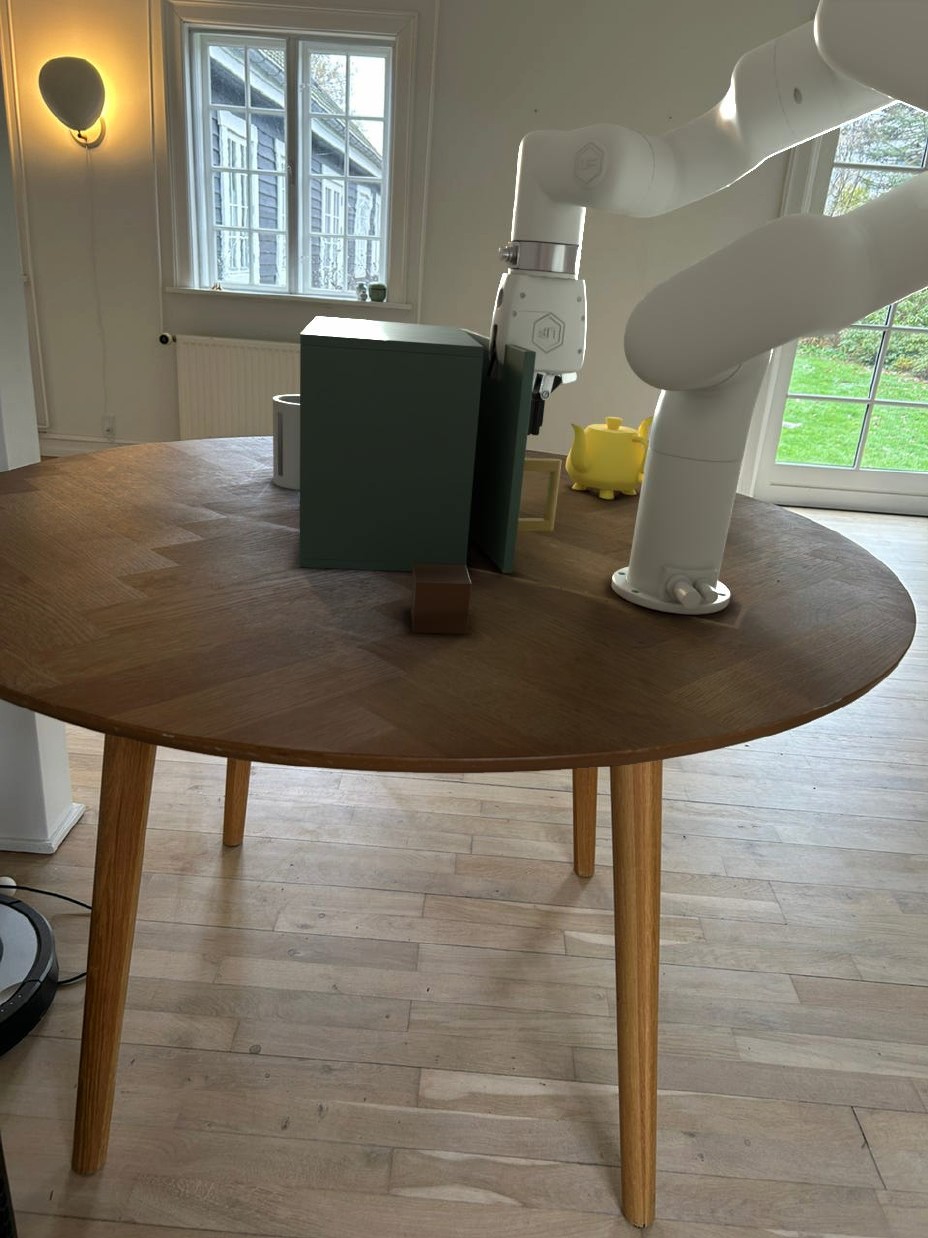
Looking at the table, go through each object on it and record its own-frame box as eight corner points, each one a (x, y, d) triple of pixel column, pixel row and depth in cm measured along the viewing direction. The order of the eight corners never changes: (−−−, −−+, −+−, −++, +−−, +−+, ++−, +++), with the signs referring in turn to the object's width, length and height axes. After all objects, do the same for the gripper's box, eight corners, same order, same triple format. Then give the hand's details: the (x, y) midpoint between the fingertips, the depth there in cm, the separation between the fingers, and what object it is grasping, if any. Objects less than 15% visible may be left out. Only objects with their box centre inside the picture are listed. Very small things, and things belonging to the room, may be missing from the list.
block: (467, 634, 79) (471, 583, 77) (413, 632, 78) (415, 581, 76) (461, 613, 83) (465, 565, 81) (410, 611, 82) (413, 563, 81)
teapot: (604, 511, 123) (616, 431, 119) (530, 487, 133) (539, 413, 129) (684, 496, 136) (697, 423, 132) (611, 475, 146) (621, 407, 142)
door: (491, 509, 119) (508, 331, 110) (555, 572, 96) (583, 354, 87) (448, 508, 118) (461, 328, 108) (502, 573, 94) (525, 351, 85)
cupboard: (446, 509, 118) (459, 327, 108) (465, 573, 94) (484, 346, 85) (314, 503, 115) (316, 316, 106) (299, 567, 92) (300, 333, 82)
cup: (345, 480, 128) (347, 399, 124) (321, 493, 120) (322, 407, 116) (290, 472, 130) (290, 392, 126) (262, 485, 122) (261, 399, 117)
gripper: (492, 257, 86) (478, 439, 93) (621, 268, 91) (599, 440, 98) (467, 256, 93) (455, 426, 100) (589, 266, 98) (570, 427, 105)
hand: (527, 432), depth 99 cm, fingers closed
